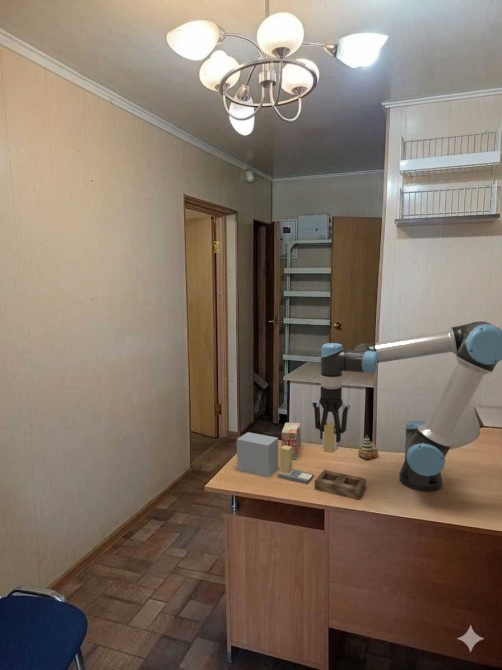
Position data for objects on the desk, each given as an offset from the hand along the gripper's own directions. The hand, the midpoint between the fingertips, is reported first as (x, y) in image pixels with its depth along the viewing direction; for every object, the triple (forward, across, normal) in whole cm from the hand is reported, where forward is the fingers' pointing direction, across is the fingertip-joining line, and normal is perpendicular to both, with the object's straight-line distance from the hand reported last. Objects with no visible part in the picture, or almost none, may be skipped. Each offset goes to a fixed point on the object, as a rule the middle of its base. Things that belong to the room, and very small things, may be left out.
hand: (330, 448), depth 159 cm
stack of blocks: (+15, +26, -25) cm, 39 cm away
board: (+14, +14, -1) cm, 20 cm away
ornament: (+15, -6, -33) cm, 37 cm away
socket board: (+14, -4, 0) cm, 15 cm away
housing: (+14, +30, 0) cm, 33 cm away
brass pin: (+1, 0, 0) cm, 1 cm away
